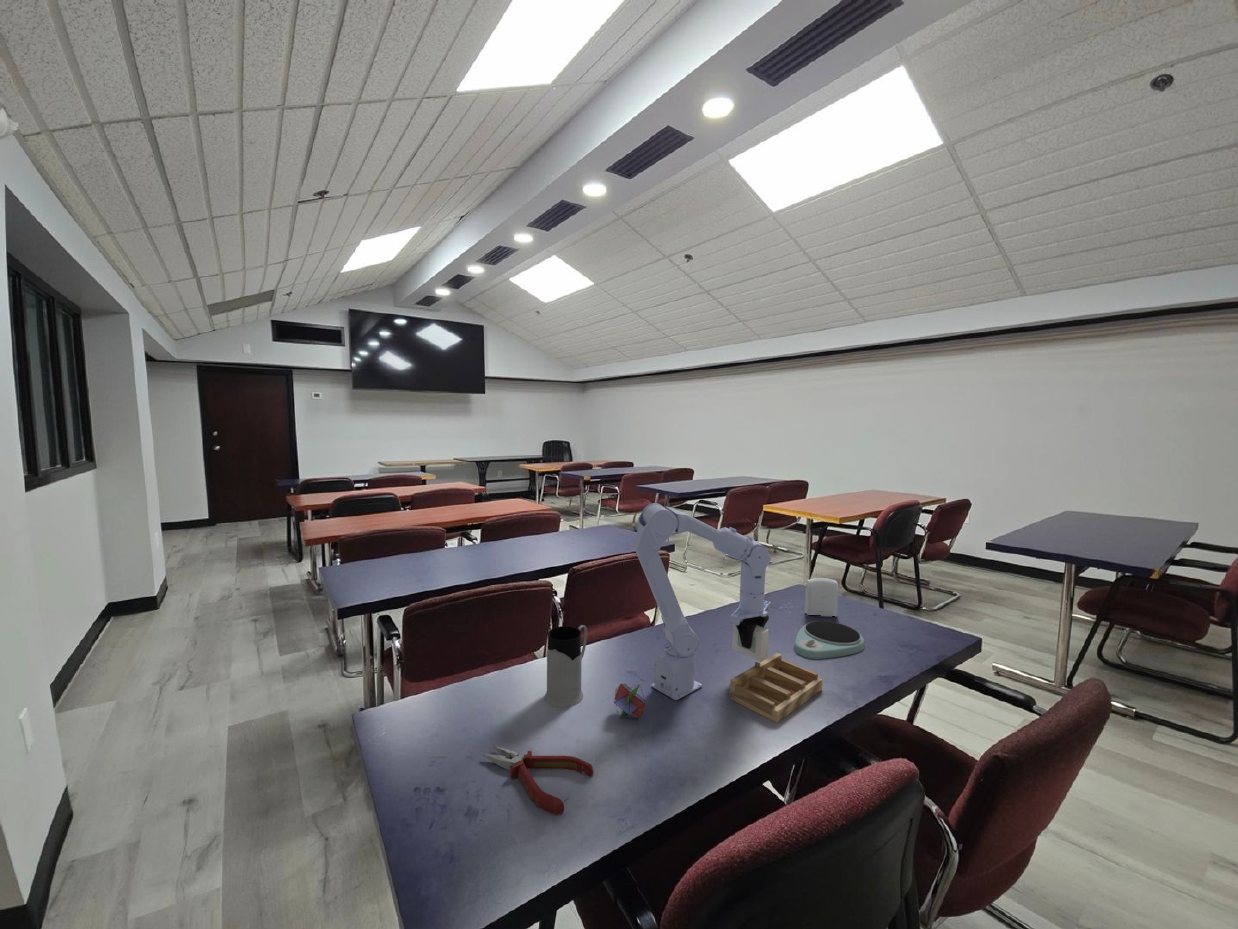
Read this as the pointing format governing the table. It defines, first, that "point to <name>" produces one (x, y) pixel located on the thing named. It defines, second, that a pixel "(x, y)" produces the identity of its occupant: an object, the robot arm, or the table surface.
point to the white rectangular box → (753, 643)
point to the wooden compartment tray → (774, 687)
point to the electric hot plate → (827, 640)
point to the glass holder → (564, 666)
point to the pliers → (522, 764)
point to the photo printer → (821, 597)
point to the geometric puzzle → (629, 700)
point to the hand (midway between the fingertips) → (750, 645)
